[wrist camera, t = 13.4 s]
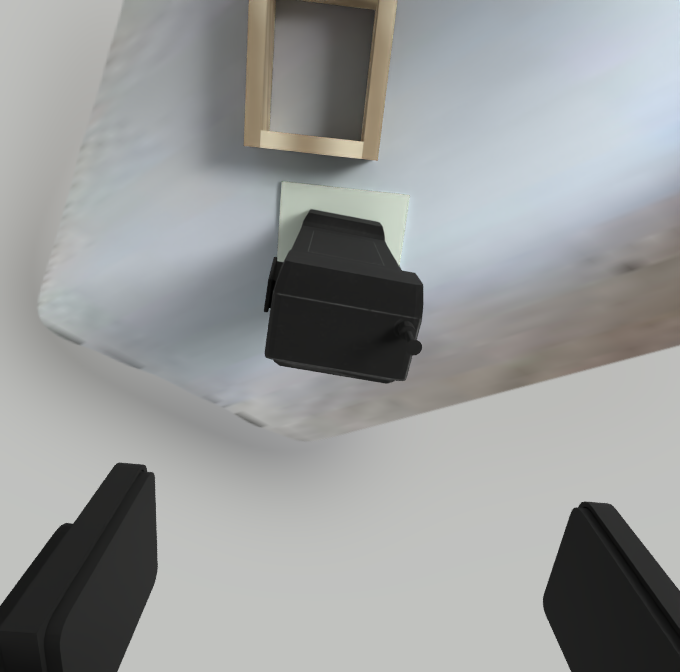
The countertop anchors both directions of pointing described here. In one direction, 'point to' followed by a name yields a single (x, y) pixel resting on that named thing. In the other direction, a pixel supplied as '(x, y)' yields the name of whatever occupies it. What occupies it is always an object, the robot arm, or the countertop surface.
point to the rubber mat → (340, 211)
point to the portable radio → (343, 302)
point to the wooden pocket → (261, 84)
